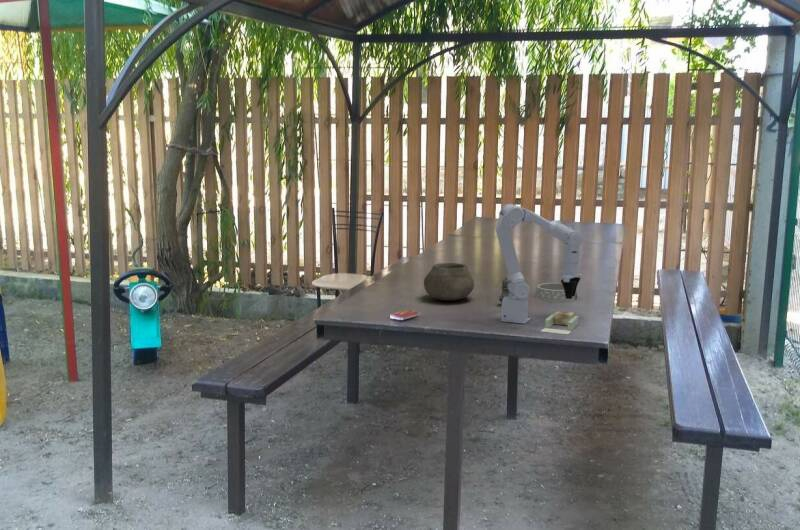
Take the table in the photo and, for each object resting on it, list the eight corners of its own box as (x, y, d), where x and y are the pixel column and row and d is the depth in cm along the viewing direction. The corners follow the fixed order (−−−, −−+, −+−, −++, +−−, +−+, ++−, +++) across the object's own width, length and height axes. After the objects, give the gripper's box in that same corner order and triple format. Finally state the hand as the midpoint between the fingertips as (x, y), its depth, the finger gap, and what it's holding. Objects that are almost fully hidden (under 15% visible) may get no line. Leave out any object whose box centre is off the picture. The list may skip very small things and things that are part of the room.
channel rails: (544, 327, 283) (545, 319, 282) (552, 321, 293) (552, 313, 292) (571, 330, 279) (571, 322, 278) (578, 323, 288) (578, 315, 288)
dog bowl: (533, 301, 326) (533, 289, 325) (538, 292, 343) (538, 280, 342) (574, 304, 321) (575, 291, 320) (578, 295, 338) (578, 283, 337)
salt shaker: (510, 307, 314) (511, 278, 312) (496, 306, 316) (497, 277, 314) (514, 304, 320) (514, 275, 317) (500, 303, 322) (500, 274, 320)
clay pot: (415, 297, 334) (415, 262, 331) (458, 292, 343) (458, 259, 340) (438, 307, 315) (438, 271, 312) (483, 302, 323) (484, 267, 321)
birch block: (554, 323, 288) (554, 313, 287) (557, 321, 292) (557, 310, 291) (570, 325, 285) (570, 315, 284) (573, 322, 289) (573, 312, 288)
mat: (540, 331, 278) (540, 331, 278) (544, 328, 282) (544, 327, 282) (568, 334, 274) (568, 334, 274) (571, 331, 278) (571, 330, 278)
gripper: (577, 266, 284) (576, 302, 286) (586, 259, 297) (585, 294, 299) (558, 264, 287) (557, 300, 289) (568, 258, 300) (566, 292, 302)
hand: (570, 297), depth 294 cm, fingers open, 4 cm apart
